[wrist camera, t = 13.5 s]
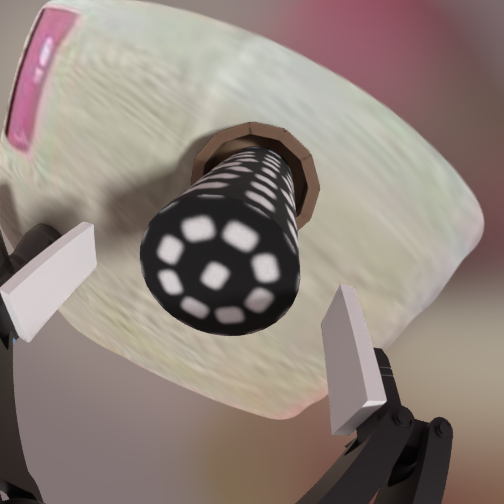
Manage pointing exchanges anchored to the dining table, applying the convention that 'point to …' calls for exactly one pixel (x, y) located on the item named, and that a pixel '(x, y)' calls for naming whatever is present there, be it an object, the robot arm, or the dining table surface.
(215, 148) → the holder
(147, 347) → the dining table surface
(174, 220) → the white-spotted black cylinder
